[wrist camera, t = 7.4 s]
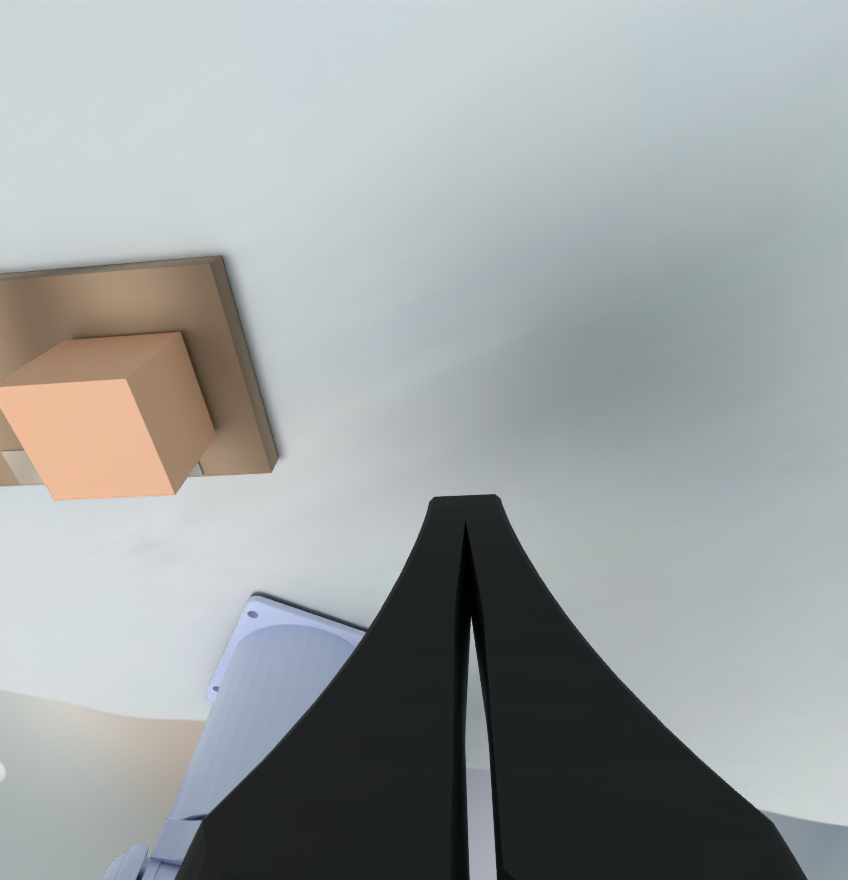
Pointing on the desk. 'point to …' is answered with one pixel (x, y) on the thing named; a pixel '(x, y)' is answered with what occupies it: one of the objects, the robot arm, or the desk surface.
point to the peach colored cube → (110, 416)
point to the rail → (137, 313)
